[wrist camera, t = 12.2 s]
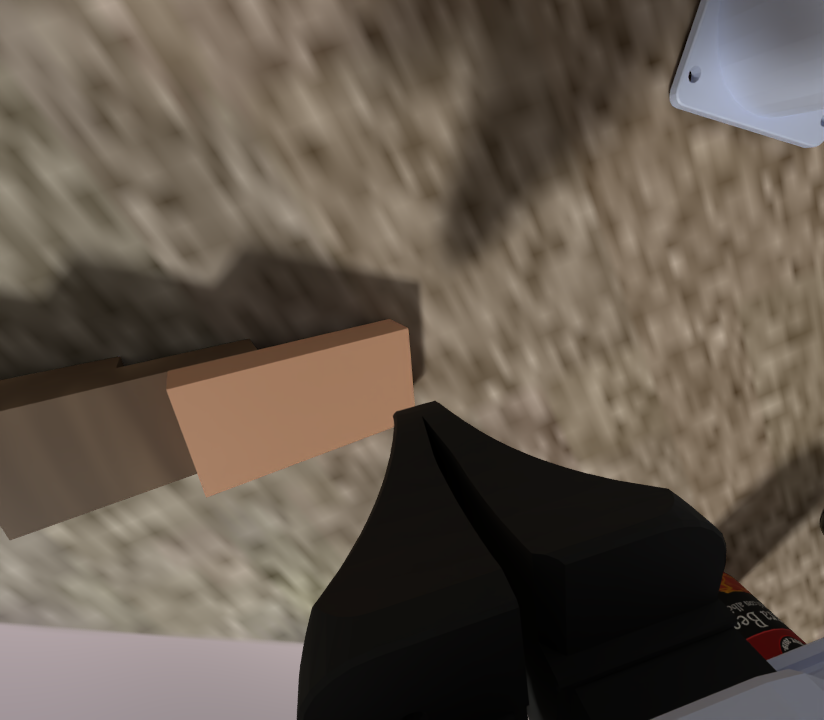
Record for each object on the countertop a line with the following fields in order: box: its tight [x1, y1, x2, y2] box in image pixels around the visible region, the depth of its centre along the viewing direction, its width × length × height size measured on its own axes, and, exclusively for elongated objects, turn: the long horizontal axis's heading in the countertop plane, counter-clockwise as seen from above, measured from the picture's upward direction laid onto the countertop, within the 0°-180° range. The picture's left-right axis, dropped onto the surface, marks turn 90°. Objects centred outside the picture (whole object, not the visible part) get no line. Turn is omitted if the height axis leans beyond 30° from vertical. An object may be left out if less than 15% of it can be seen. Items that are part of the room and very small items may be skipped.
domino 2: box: [166, 319, 415, 497], centre depth 14 cm, size 2×4×8 cm
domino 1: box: [0, 339, 257, 540], centre depth 13 cm, size 2×4×8 cm
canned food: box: [718, 572, 806, 660], centre depth 24 cm, size 8×8×11 cm
